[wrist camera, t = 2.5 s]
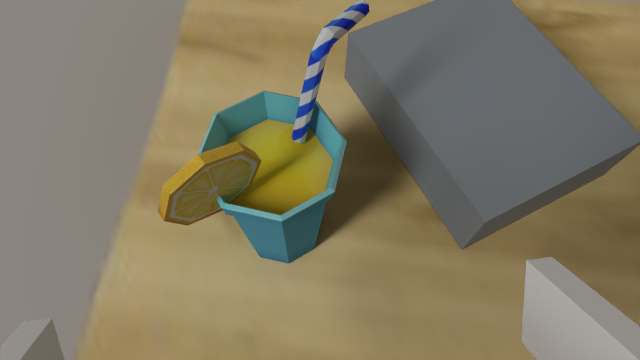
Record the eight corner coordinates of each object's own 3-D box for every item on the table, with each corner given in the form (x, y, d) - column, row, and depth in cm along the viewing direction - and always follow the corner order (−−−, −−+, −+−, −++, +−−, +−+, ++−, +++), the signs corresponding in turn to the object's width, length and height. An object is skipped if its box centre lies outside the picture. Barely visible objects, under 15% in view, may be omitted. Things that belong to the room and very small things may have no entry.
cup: (305, 125, 37) (301, -42, 24) (389, 176, 35) (435, 25, 22) (183, 264, 32) (88, 150, 18) (273, 333, 30) (240, 262, 16)
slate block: (470, 26, 42) (489, -21, 38) (603, 174, 35) (645, 139, 31) (344, 77, 39) (348, 33, 35) (461, 249, 32) (485, 222, 28)
